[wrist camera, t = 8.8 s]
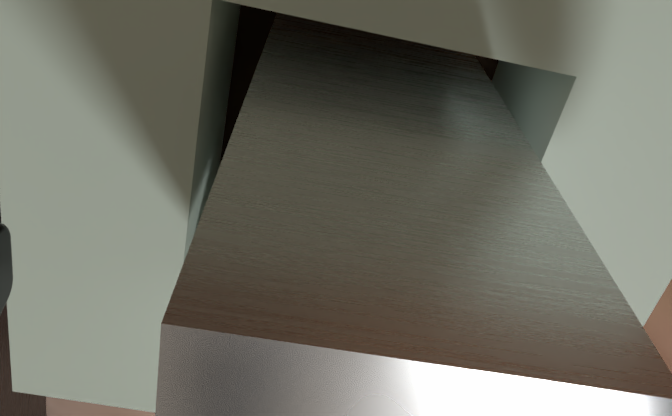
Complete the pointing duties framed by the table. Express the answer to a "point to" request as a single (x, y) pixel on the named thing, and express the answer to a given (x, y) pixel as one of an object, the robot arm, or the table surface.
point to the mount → (3, 404)
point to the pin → (392, 254)
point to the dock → (207, 139)
